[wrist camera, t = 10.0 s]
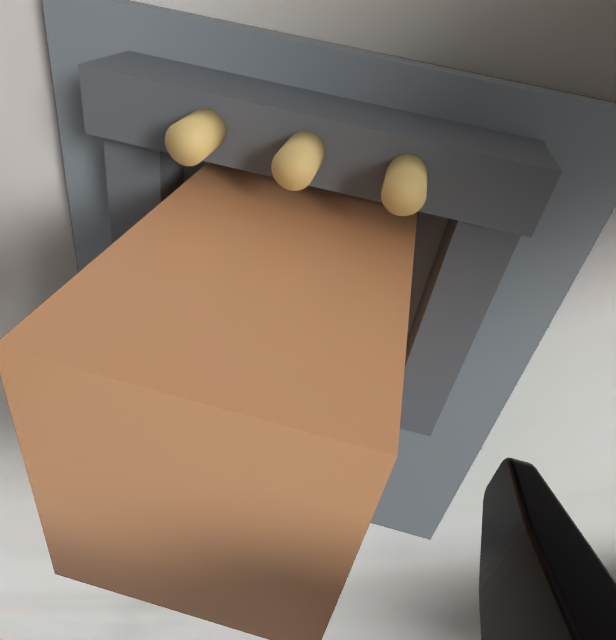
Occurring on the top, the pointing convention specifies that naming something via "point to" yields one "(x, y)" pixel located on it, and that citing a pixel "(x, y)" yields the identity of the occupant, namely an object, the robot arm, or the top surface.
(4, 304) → the top surface
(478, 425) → the flat gray board
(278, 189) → the block
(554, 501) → the robot arm
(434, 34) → the top surface
